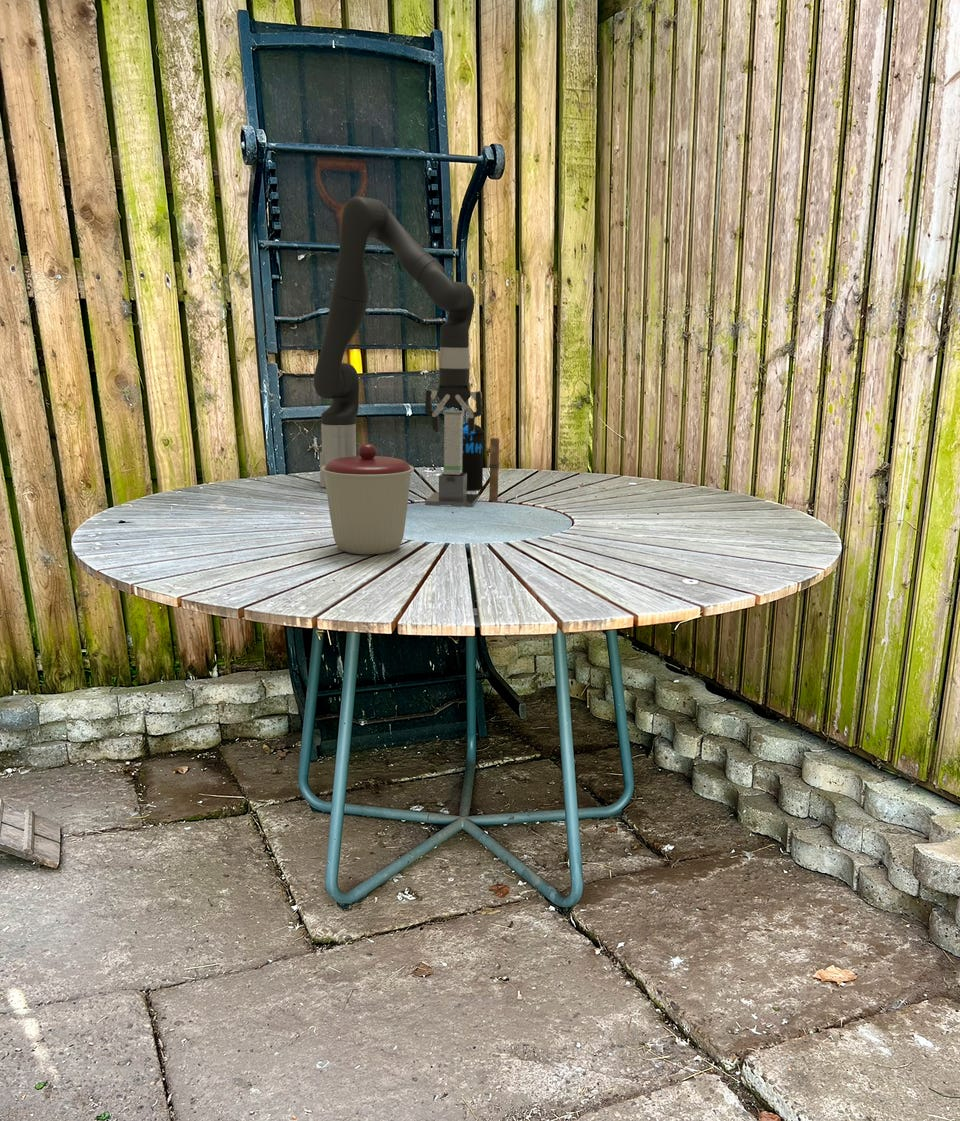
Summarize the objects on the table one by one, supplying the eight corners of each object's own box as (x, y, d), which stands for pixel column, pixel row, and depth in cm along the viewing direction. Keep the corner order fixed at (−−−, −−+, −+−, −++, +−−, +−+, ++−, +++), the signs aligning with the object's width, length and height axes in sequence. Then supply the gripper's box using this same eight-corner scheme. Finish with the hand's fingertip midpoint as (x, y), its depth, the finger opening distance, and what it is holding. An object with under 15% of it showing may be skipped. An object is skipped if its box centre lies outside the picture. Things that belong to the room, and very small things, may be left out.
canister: (305, 547, 179) (301, 442, 174) (376, 534, 191) (375, 435, 186) (360, 565, 167) (358, 452, 161) (432, 550, 179) (433, 445, 174)
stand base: (425, 504, 224) (425, 477, 222) (434, 496, 235) (434, 469, 233) (472, 507, 222) (472, 479, 220) (479, 498, 234) (479, 471, 232)
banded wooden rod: (488, 500, 230) (490, 438, 226) (489, 499, 232) (491, 437, 228) (497, 501, 230) (498, 439, 226) (498, 499, 232) (499, 438, 228)
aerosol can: (454, 485, 252) (455, 413, 247) (483, 486, 252) (485, 414, 247) (452, 490, 244) (453, 416, 239) (482, 491, 244) (484, 417, 239)
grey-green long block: (442, 474, 225) (443, 411, 221) (445, 471, 229) (446, 410, 225) (460, 475, 224) (461, 412, 220) (463, 472, 229) (464, 410, 225)
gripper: (422, 366, 217) (422, 433, 222) (480, 367, 216) (479, 435, 220) (428, 365, 225) (428, 430, 229) (484, 366, 223) (483, 432, 227)
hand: (453, 432), depth 224 cm, fingers open, 8 cm apart
